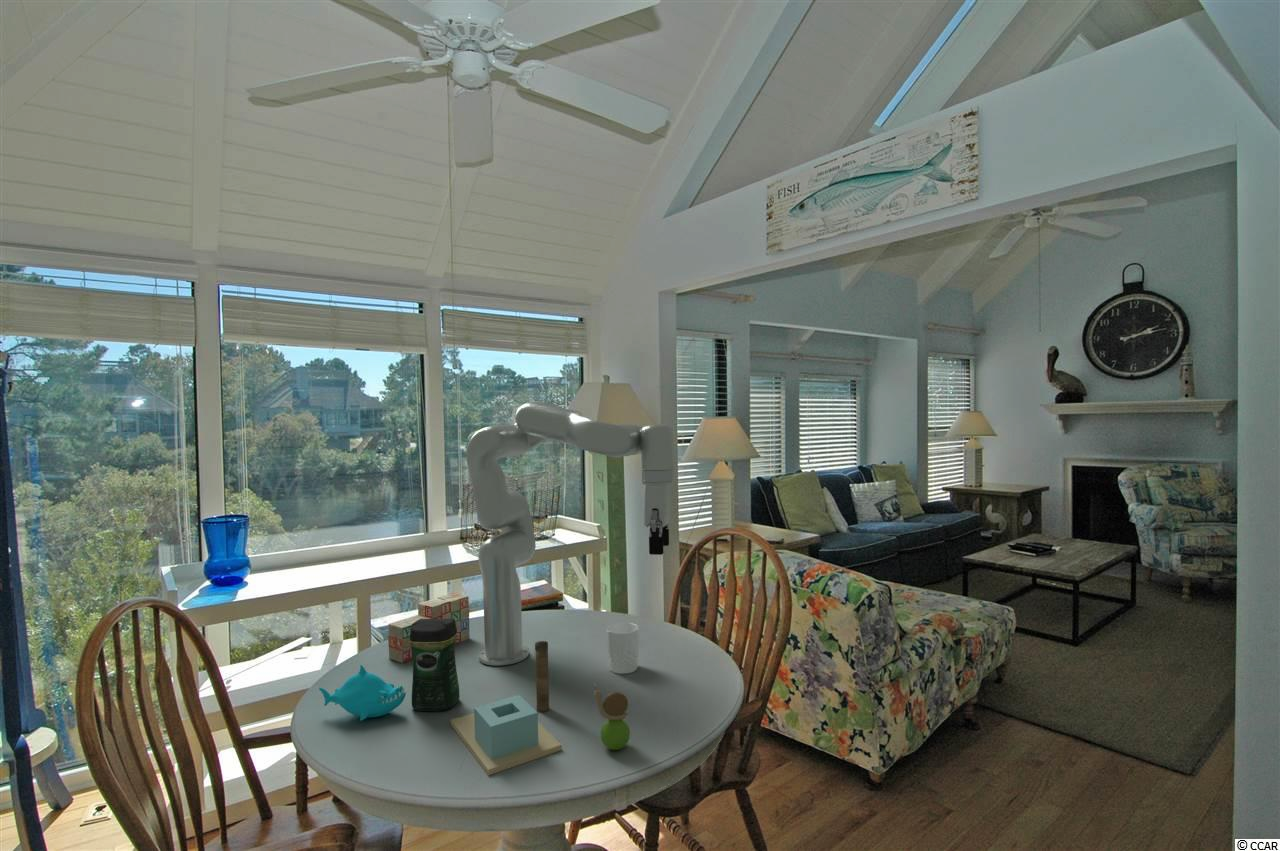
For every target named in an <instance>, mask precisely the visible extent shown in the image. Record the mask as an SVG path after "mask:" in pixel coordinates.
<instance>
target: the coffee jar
mask: <svg viewBox="0 0 1280 851" xmlns="http://www.w3.org/2000/svg"><path fill="white" fill-rule="evenodd" d="M456 639H457V628H456V623H455V620H454V619H453V618H451V619H419V620H417V621H416V622H414V623H413V624H412V625H411V629H410V638H409V643H410V646H411V649H412V653H413V659H412V683H411V686H412V687H411V708H413V710H415V711H419V712H421V711H422V712H424V711H425V712H439V711H446V710H448V709H450V708H451V707H454V706H455V705H456V704H457V703H458V702H459V699H460V697H461V696H460V687H459V686H460V684H459V680H458V672H457V664H456V654H455V653H456V652H455V649H456V648H455V645H456V644H455V642H456Z"/></svg>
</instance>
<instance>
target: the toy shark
mask: <svg viewBox="0 0 1280 851" xmlns="http://www.w3.org/2000/svg"><path fill="white" fill-rule="evenodd" d="M359 667H360V669H359V672H358V673H356V674H354V675H352V676H350V677H348V678H347V680H346V681H345V682H344V683H343V684H342V686H340V687H339V688H335V691H334V693H333V694H331V693H329V692H328V691H327V690H326V689H325V688H323V687H319V688H318V690H319V691H320V693H322V695H323V698H324V707H326V706H327V705H328V704H329V703H334V706H335V705H339V706H340V707H341V708H343V709H344V710H345V711H346V712H347V713H349V714H351V715H353V716H356V717H358V718H359V721H361V722H362V721H363V720H366V718H367V719H368V718H369V719H370V718H378V717H382V716H385V715H387V714H389V713H391V712H393V711H394V710H396V709H397V708H398V707H400V705H402V702H403V701H404V699H405V697H406V695H407V692H406V691H405V687H404V686H403V685H398V686H397V687H395V685H394V683H387V682H385V680H383V678H381V677H380V676H378V675H377V674H375V673H372V672H367V670H366V669H365V667H364V666H363V665H362V664H360V666H359Z"/></svg>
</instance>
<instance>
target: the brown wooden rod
mask: <svg viewBox="0 0 1280 851" xmlns="http://www.w3.org/2000/svg"><path fill="white" fill-rule="evenodd" d="M548 649H549V642H548V641H545V640H540V641H536V642H534V650H535V682H536V684H535V687H536V692H535V693H536V711H537V712H538V713H547V712H548V711H550V688H549V687H550V684H549V683H550V681H549V650H548Z"/></svg>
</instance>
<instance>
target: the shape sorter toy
mask: <svg viewBox="0 0 1280 851" xmlns="http://www.w3.org/2000/svg"><path fill="white" fill-rule="evenodd" d="M538 713H539V712H538V711H537V709H535V708H533V707H532V705H530V704H529V703H528V702H527V701H526V700H525V699H524V698H523V697H522V696H520V694H518V695H517V694H516V695H514V696H511V697H507V698H504V699H500V700H497V701H493V702H489V703H486V704H482V705H478V706H476V707H473V712H472V713H469V714H466V715H463V716H459V717H455V718H452V719H450V726H451V727H452V728H453V730H454V731H455V732H456V734H457V736H459V737H460V739H461V740H462V742H463V743H464V745H465V746H466V747H467V749H468V750H469V751H470V752H471V754H472V755H473V757H474V758H475V760H476V761H477V762H478V763H479V765H480V766H481V768H482V769H483V771H484V772H485V773H486V774H487V776H491V775H493V774H496V773H499V772H502V771H505V770H508V769H510V768H511V769H512V768H513V767H517V766H520V765H522V764H526V763H529V762H530V761H531V762H532V761H535V760H537V759H540V758H543V757H545V756H548V755H552V754H553V753H557V752H560V751H562V750H563V749H562V748H563V746H562V743H560V742H559V740H557V739H556V738H555V737H554V736H553V734H551V733H550V732H549V731H548V730H547V729H546V728H545V727H544V726H543V725H542V724H541V723H540V722H539V717H538V716H539V714H538Z"/></svg>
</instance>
